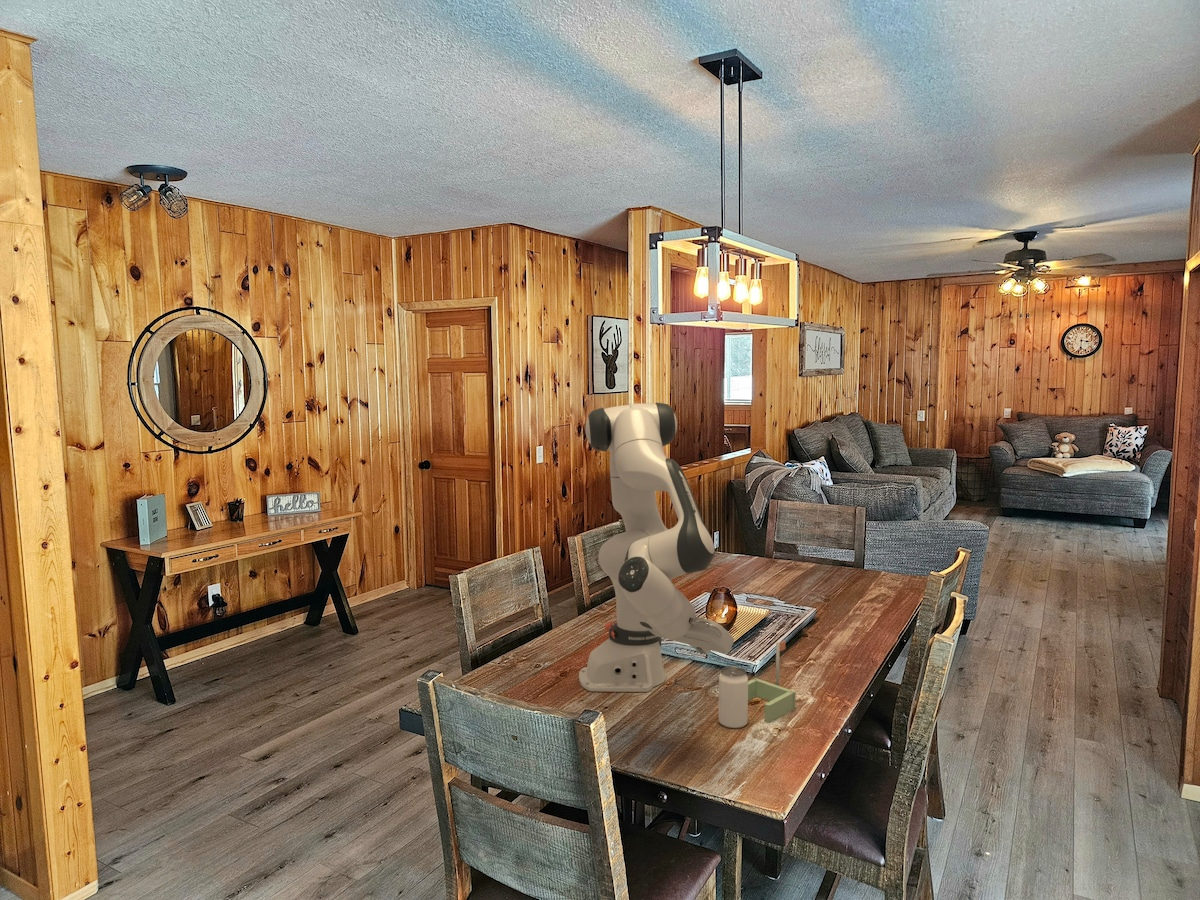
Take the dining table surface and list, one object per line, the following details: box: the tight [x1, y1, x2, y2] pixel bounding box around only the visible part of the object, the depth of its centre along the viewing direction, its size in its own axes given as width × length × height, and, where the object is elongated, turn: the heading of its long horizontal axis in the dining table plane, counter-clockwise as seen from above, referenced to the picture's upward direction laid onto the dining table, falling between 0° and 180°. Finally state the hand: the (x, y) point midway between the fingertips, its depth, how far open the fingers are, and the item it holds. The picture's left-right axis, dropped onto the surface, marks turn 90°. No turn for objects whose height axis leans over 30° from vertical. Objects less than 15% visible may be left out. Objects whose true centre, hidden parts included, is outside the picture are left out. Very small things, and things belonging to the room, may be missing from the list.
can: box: [718, 666, 749, 729], centre depth 176 cm, size 6×6×12 cm
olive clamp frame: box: [748, 640, 797, 723], centre depth 184 cm, size 15×11×14 cm
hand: (705, 649), depth 166 cm, fingers closed
